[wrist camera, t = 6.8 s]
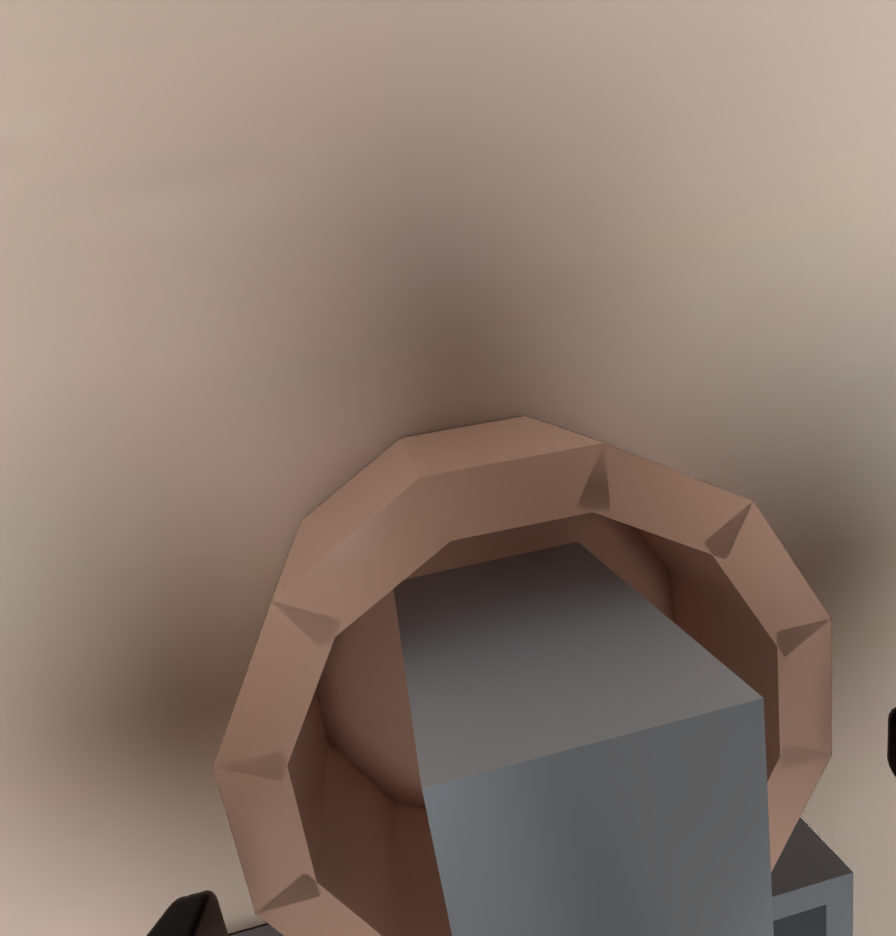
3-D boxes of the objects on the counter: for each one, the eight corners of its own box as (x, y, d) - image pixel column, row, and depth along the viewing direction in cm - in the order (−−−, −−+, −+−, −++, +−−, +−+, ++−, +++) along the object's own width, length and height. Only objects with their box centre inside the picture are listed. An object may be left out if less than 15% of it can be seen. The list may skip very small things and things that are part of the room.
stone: (598, 721, 11) (776, 990, 7) (429, 765, 11) (483, 1088, 6) (577, 541, 10) (762, 698, 6) (392, 581, 10) (421, 788, 5)
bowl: (707, 770, 13) (832, 919, 9) (321, 874, 12) (304, 1084, 8) (683, 387, 11) (831, 400, 7) (218, 470, 10) (143, 527, 6)
